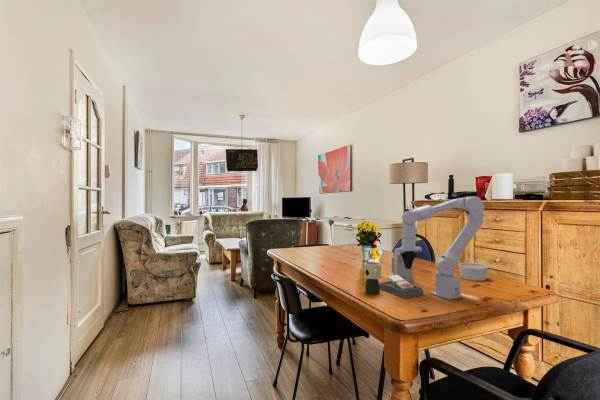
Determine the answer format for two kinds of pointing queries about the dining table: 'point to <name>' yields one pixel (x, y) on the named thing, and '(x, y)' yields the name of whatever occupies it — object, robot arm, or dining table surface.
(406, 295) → the breaker panel
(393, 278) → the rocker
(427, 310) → the dining table surface
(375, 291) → the character mug
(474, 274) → the ramekin
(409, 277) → the circuit breaker
